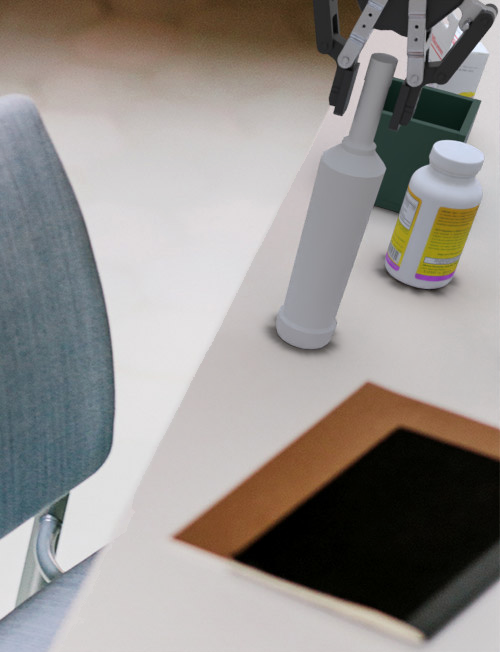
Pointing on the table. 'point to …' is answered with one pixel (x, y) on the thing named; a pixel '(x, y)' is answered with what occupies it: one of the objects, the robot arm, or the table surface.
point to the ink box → (470, 69)
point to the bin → (418, 137)
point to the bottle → (336, 218)
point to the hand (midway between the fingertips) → (367, 118)
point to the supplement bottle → (436, 216)
